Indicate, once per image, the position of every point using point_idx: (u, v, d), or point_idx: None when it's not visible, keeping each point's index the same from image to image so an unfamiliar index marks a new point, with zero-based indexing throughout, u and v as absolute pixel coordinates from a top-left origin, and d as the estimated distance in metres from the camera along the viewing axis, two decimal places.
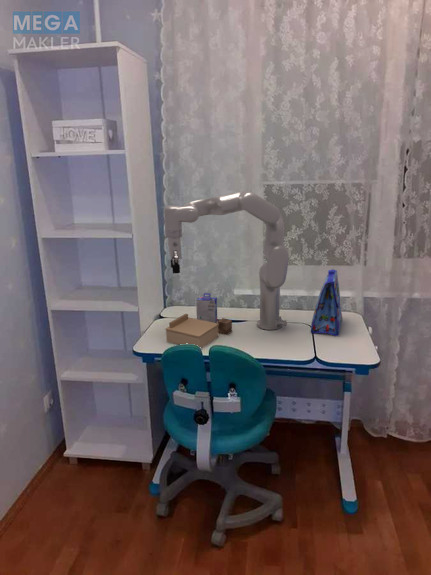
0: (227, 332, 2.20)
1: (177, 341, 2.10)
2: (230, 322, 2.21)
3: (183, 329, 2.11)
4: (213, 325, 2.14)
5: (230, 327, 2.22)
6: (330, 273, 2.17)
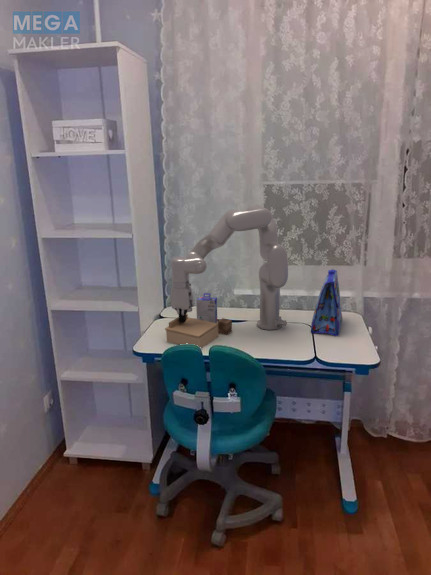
0: (227, 332, 2.20)
1: (177, 341, 2.10)
2: (230, 322, 2.21)
3: (183, 329, 2.11)
4: (212, 325, 2.14)
5: (230, 327, 2.22)
6: (330, 273, 2.17)
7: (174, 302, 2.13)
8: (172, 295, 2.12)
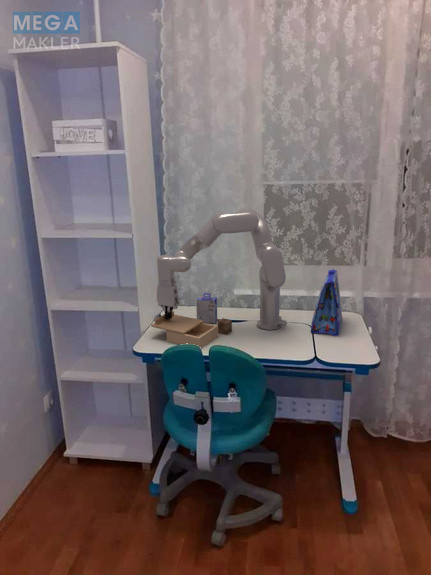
0: (227, 332, 2.20)
1: (177, 341, 2.10)
2: (230, 322, 2.21)
3: (169, 325, 2.15)
4: (198, 322, 2.18)
5: (230, 327, 2.22)
6: (330, 273, 2.17)
7: (160, 299, 2.17)
8: (158, 292, 2.16)
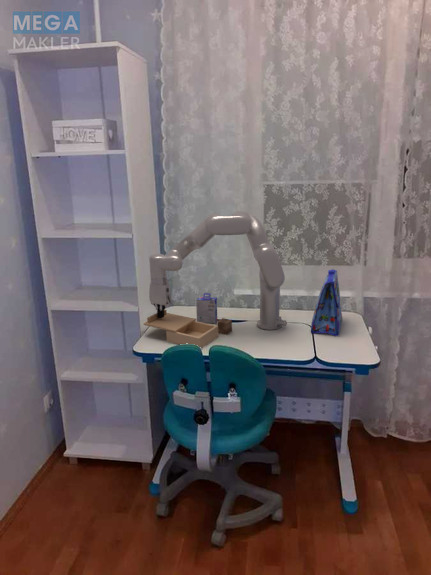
0: (227, 332, 2.20)
1: (177, 341, 2.10)
2: (230, 322, 2.21)
3: (161, 324, 2.17)
4: (190, 320, 2.21)
5: (230, 327, 2.22)
6: (330, 273, 2.17)
7: (152, 298, 2.19)
8: (150, 291, 2.18)
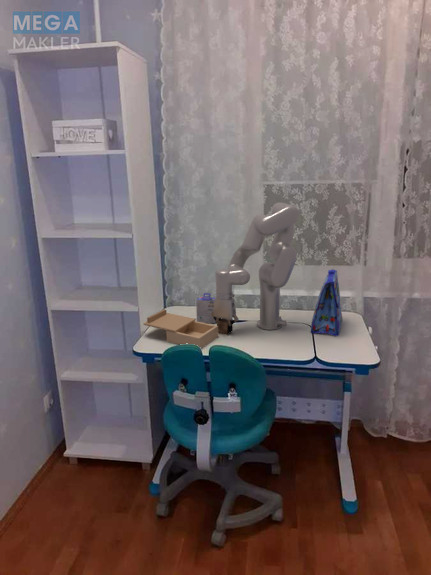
0: (227, 332, 2.20)
1: (177, 341, 2.10)
2: None
3: (161, 324, 2.17)
4: (190, 320, 2.21)
5: None
6: (330, 273, 2.17)
7: (217, 312, 2.19)
8: (215, 306, 2.18)
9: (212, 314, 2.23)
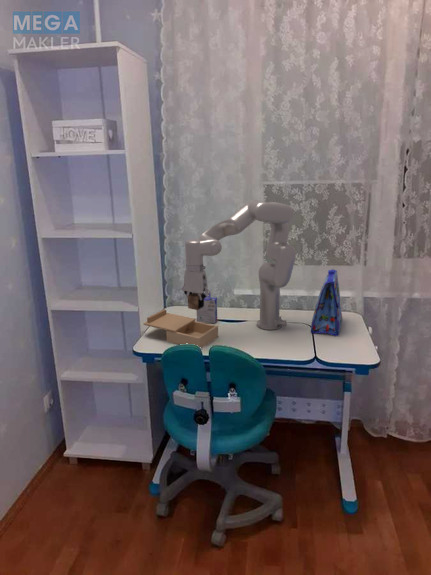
0: (198, 307, 2.07)
1: (177, 341, 2.10)
2: None
3: (161, 324, 2.17)
4: (190, 320, 2.21)
5: None
6: (330, 273, 2.17)
7: (187, 286, 2.06)
8: (185, 279, 2.05)
9: (183, 288, 2.10)
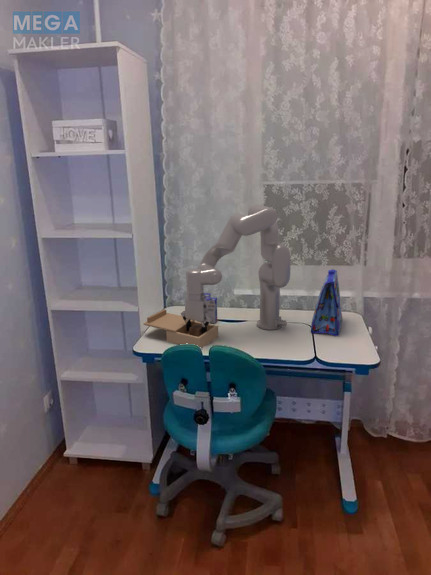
0: None
1: (177, 341, 2.10)
2: None
3: (161, 324, 2.17)
4: (190, 320, 2.21)
5: None
6: (330, 273, 2.17)
7: (188, 314, 2.10)
8: (186, 307, 2.10)
9: (182, 313, 2.14)
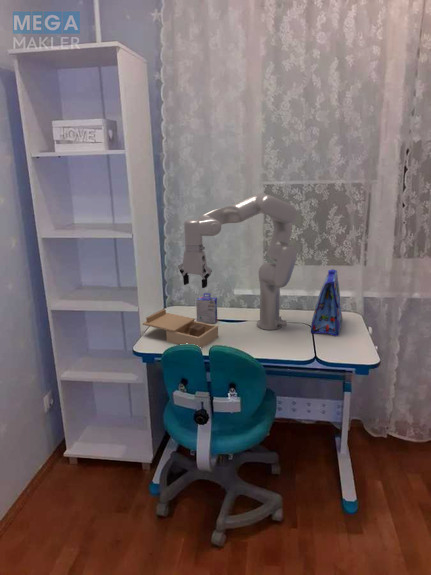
0: None
1: (177, 341, 2.10)
2: (203, 328, 2.13)
3: (160, 323, 2.17)
4: (189, 320, 2.21)
5: (203, 333, 2.13)
6: (330, 273, 2.17)
7: (187, 267, 2.03)
8: (185, 260, 2.03)
9: (179, 266, 2.07)
